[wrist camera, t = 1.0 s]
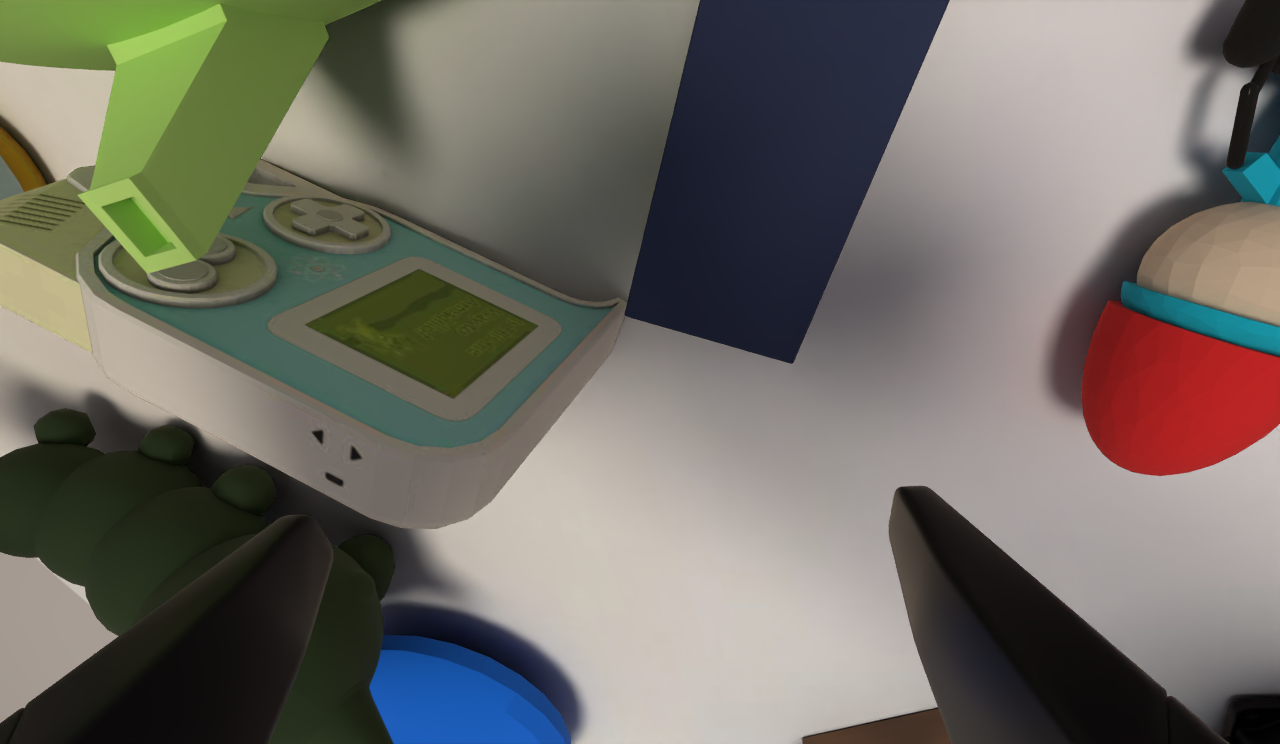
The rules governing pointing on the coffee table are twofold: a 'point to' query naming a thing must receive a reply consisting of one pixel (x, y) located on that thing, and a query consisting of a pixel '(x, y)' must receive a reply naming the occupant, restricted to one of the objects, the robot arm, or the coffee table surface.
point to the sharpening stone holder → (891, 731)
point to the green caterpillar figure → (189, 556)
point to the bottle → (16, 168)
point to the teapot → (176, 101)
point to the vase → (458, 697)
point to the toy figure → (1200, 310)
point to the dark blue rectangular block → (772, 161)
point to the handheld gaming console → (319, 340)
